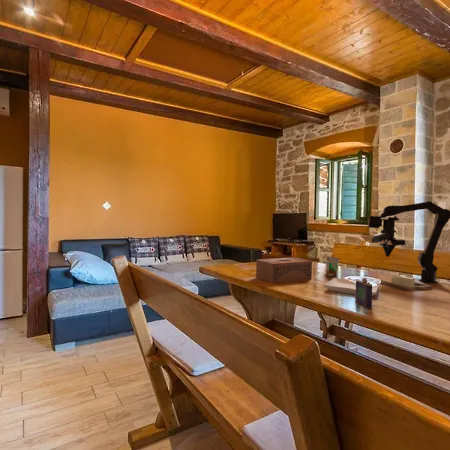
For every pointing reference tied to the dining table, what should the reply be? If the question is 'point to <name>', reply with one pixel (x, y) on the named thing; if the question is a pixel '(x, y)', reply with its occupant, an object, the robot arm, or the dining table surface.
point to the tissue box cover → (283, 269)
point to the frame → (417, 287)
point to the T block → (403, 280)
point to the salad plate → (345, 286)
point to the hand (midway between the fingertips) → (387, 256)
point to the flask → (363, 293)
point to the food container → (332, 266)
